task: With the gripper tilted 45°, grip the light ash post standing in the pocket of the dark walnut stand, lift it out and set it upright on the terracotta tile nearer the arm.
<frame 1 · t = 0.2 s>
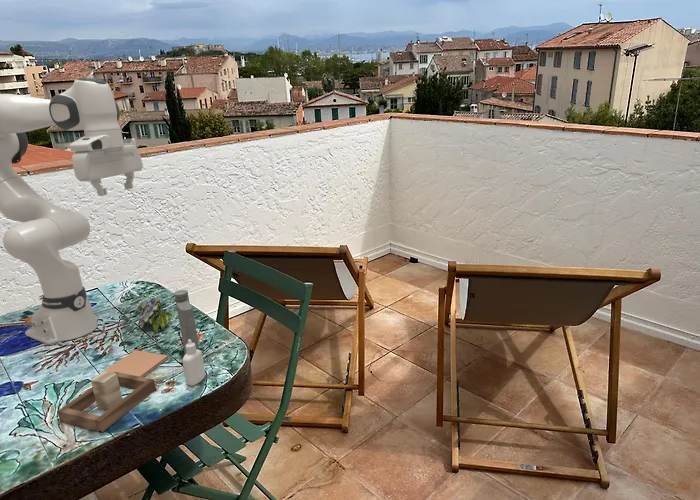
hand: (116, 192, 127), 48 cm above the table, tool pointing down, fingers open, 8 cm apart
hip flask: (191, 354, 135), on the table
ash post: (107, 391, 111), in the walnut stand
terracotta tile: (136, 366, 129), on the table
walnut stand: (110, 404, 113), on the table
passion flower: (157, 325, 154), on the table
eye dropper bottle: (196, 380, 122), on the table
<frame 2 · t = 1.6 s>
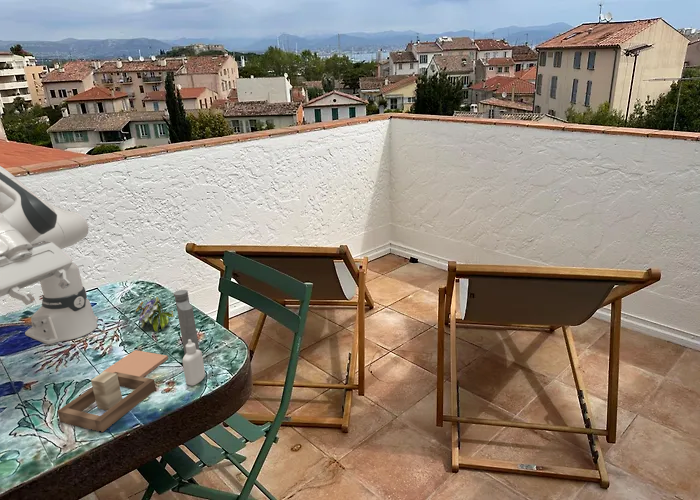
hand: (49, 294, 108), 28 cm above the table, tool tilted 45°, fingers open, 8 cm apart
nothing on the table moved.
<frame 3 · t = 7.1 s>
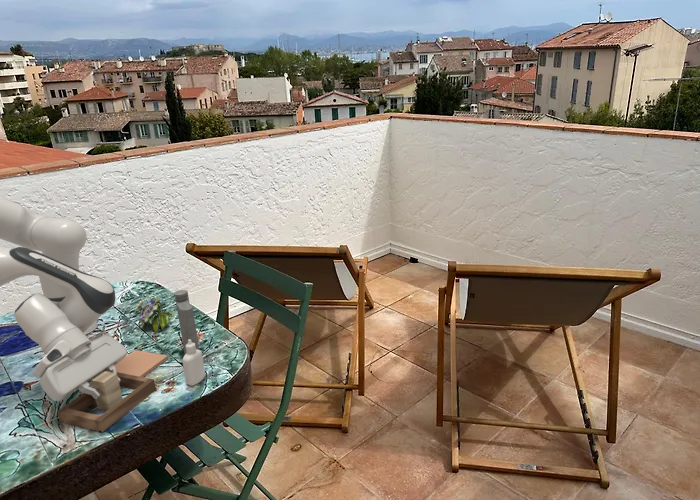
hand: (108, 389, 111), 4 cm above the table, tool tilted 45°, fingers closed on ash post, 4 cm apart
ash post: (107, 390, 111), in the walnut stand, touching gripper
everything else where it was.
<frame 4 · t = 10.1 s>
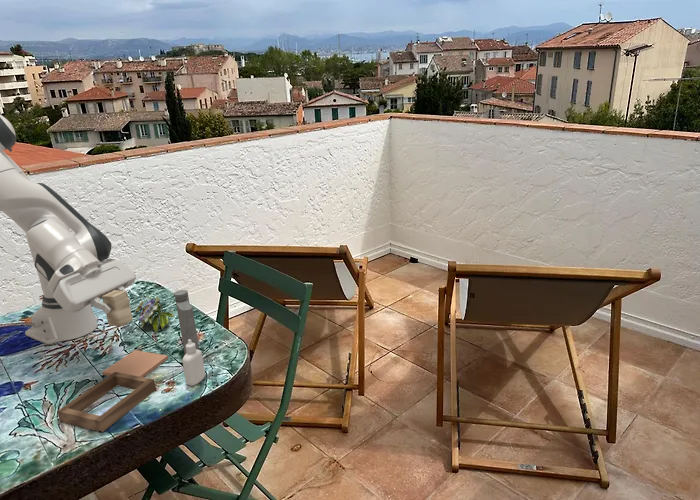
hand: (119, 307, 116), 22 cm above the table, tool tilted 50°, fingers closed on ash post, 4 cm apart
ash post: (117, 308, 116), point 21 cm above the table, touching gripper
everything else where it was.
when the fingers open (7 cm above the table, at t = 13.4 s): ash post drops 2 cm, resting on terracotta tile.
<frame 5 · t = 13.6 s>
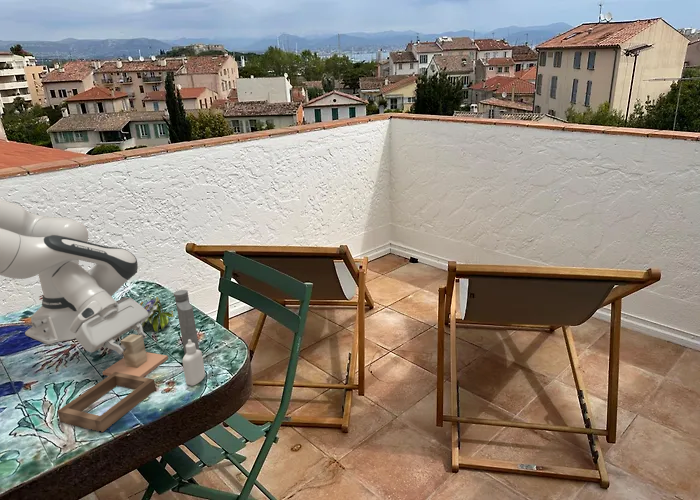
hand: (133, 345, 127), 7 cm above the table, tool tilted 45°, fingers open, 6 cm apart
ash post: (134, 350, 128), on the terracotta tile, point 5 cm above the table
everything else where it was.
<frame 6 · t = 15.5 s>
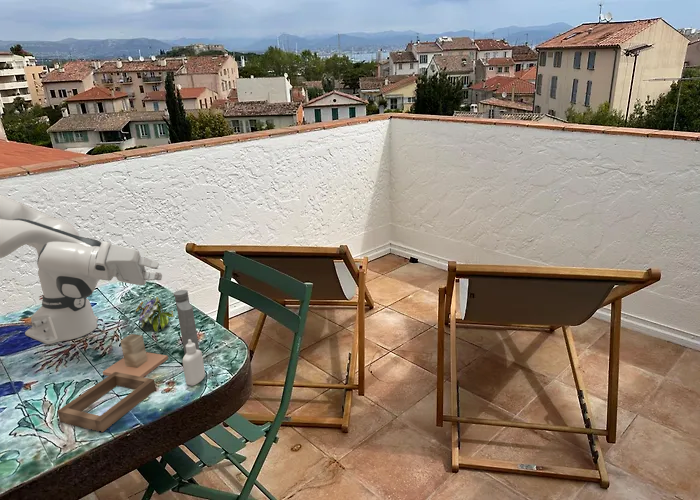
hand: (159, 271, 127), 26 cm above the table, tool horizontal, fingers open, 8 cm apart
nothing on the table moved.
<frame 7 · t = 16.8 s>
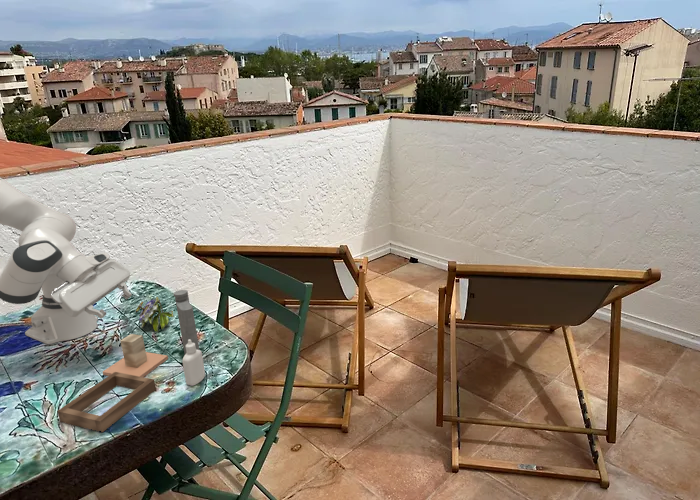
hand: (117, 306, 130), 16 cm above the table, tool tilted 45°, fingers open, 8 cm apart
nothing on the table moved.
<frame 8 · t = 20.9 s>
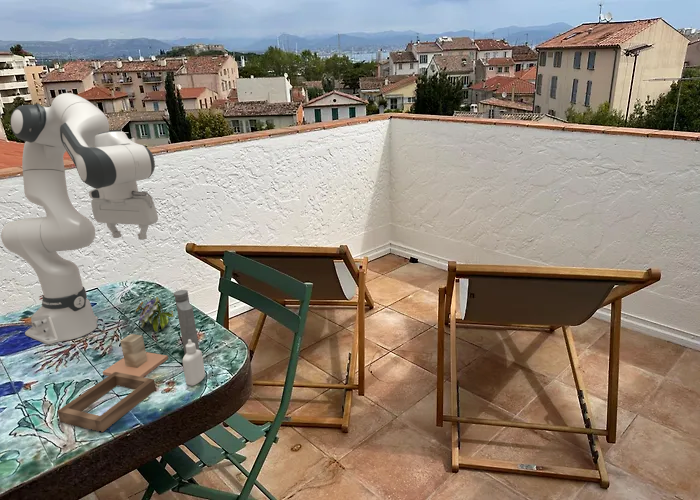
hand: (129, 238, 132), 34 cm above the table, tool pointing down, fingers open, 8 cm apart
nothing on the table moved.
at the end: ash post inside the target area on the terracotta tile (0.2 cm from its centre), point 5.0 cm above the terracotta tile's base; ash post tilted 0°; the gripper is holding nothing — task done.
